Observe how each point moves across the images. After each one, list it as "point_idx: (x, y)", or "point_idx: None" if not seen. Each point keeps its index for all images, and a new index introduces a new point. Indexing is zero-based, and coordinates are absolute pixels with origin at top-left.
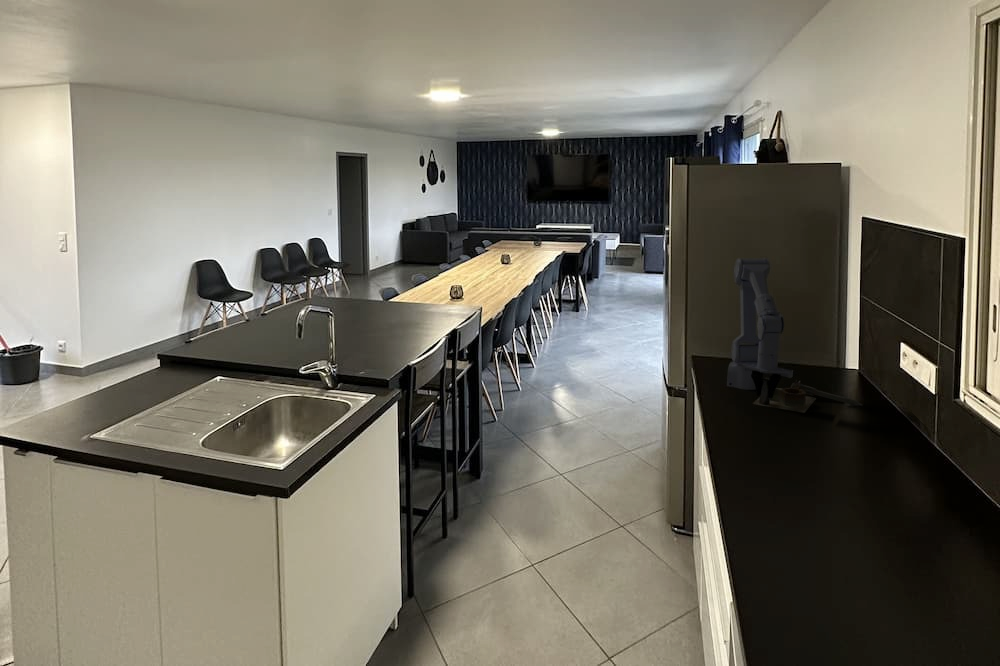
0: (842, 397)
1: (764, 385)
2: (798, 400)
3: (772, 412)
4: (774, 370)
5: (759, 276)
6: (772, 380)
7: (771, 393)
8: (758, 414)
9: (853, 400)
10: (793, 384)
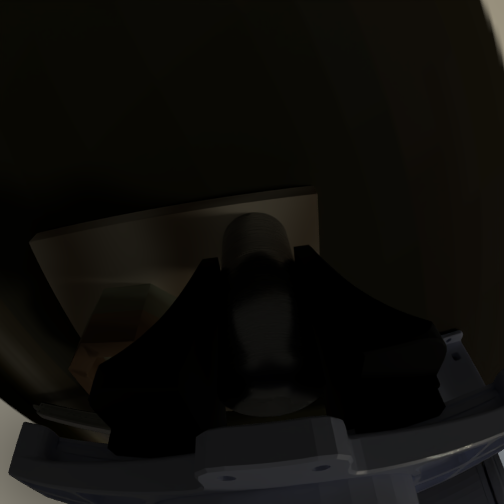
0: (60, 420)
1: (262, 312)
2: (86, 327)
3: (165, 166)
4: (131, 496)
5: None
6: (154, 360)
7: (193, 276)
8: (215, 63)
9: (42, 414)
10: None
